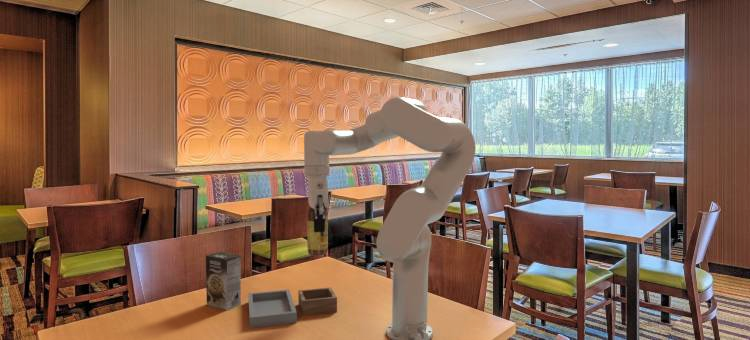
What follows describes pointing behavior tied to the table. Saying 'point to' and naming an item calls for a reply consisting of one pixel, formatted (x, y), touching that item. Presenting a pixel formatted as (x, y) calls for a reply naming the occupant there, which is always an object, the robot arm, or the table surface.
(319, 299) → the open wooden box frame
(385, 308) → the table surface
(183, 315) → the table surface
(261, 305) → the tray
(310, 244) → the sauce bottle
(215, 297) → the coffee box
